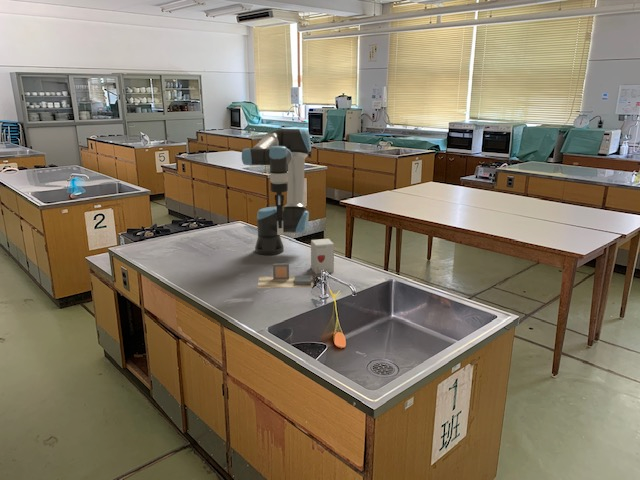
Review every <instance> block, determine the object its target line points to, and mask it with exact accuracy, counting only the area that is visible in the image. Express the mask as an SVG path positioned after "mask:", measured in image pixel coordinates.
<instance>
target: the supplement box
mask: <svg viewBox="0 0 640 480" xmlns="http://www.w3.org/2000/svg"><path fill="white" fill-rule="evenodd" d="M310 268H311V270H312V272H313V273H314V274H322V273H321V270H323V269H324V270H326V271H327V272H328V273H334V272H335V271H334V270H335V269H334V268H335V244H334V242H333V241H331V239H330V238H323V239H322V238H321V239H319V238H318V239H311V240H310Z"/></svg>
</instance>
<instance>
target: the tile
mask: <svg viewBox="0 0 640 480" xmlns="http://www.w3.org/2000/svg"><path fill="white" fill-rule="evenodd" d="M272 276H273V280H278V279H289V276H290V263H289V262H286V263H282V262H281V263H280V262H279V263H272Z"/></svg>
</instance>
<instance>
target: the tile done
mask: <svg viewBox="0 0 640 480" xmlns="http://www.w3.org/2000/svg"><path fill="white" fill-rule="evenodd" d="M311 275H312V274H311ZM311 275H310V274H307V275H305V274H303V276H301V275H294V276H295V285H306V284H311Z"/></svg>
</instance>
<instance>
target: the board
mask: <svg viewBox="0 0 640 480" xmlns="http://www.w3.org/2000/svg"><path fill="white" fill-rule="evenodd" d="M303 275H304V274H303ZM303 275H301V274H300V276H303ZM295 276H296V275H289V279H278V280H273V275H270V276H267V275H266V276H264V275H263V276H259V277H258V282H257V289H292V288H314V287H313V285H314V278H313V275H312V274H311V284H306V285H295Z"/></svg>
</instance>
